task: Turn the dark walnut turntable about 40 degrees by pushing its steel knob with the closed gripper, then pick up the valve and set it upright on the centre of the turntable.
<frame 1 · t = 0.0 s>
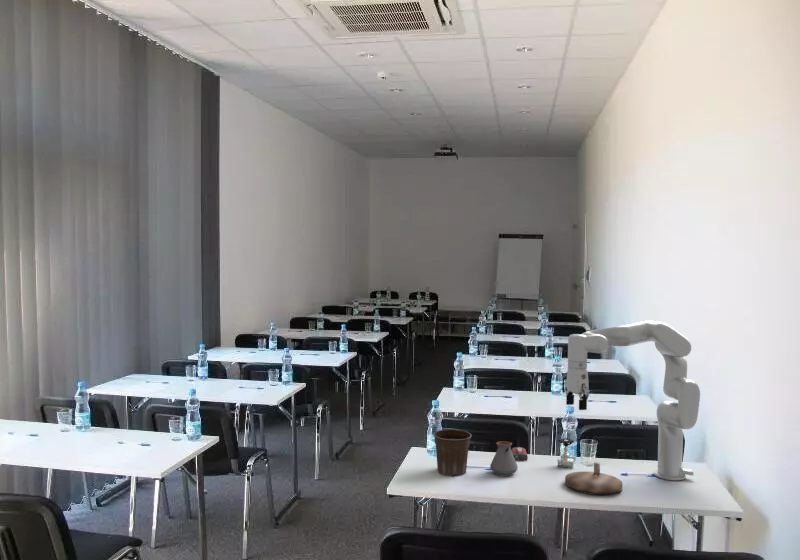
hand: (576, 407, 264), 31 cm above the table, tool pointing down, fingers open, 9 cm apart
plant pot: (451, 472, 278), on the table
turntable base: (593, 486, 262), on the table
turntable platter: (593, 476, 262), point 4 cm above the table, hinge at 0.0°
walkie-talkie: (517, 459, 298), on the table
valve: (565, 467, 287), on the table
coffee pot: (504, 477, 272), on the table
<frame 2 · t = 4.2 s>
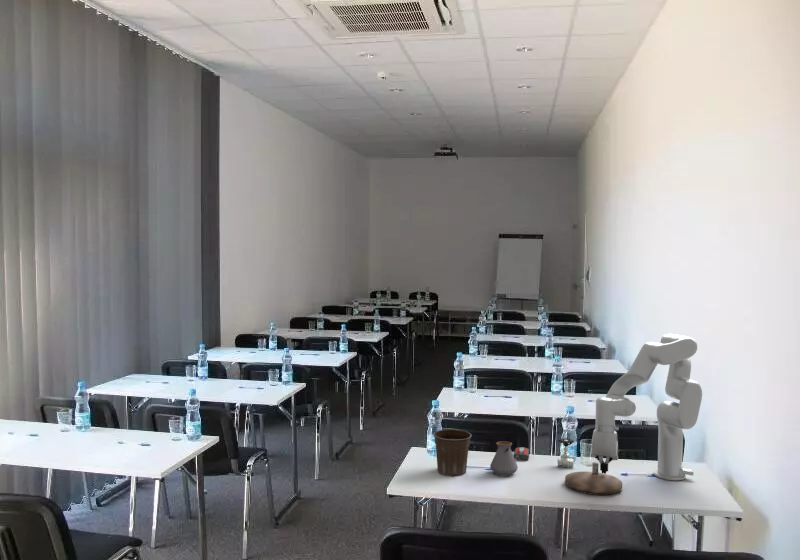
hand: (604, 472, 268), 4 cm above the table, tool pointing down, fingers closed
turntable platter: (593, 476, 262), point 4 cm above the table, hinge at 3.9°, touching gripper
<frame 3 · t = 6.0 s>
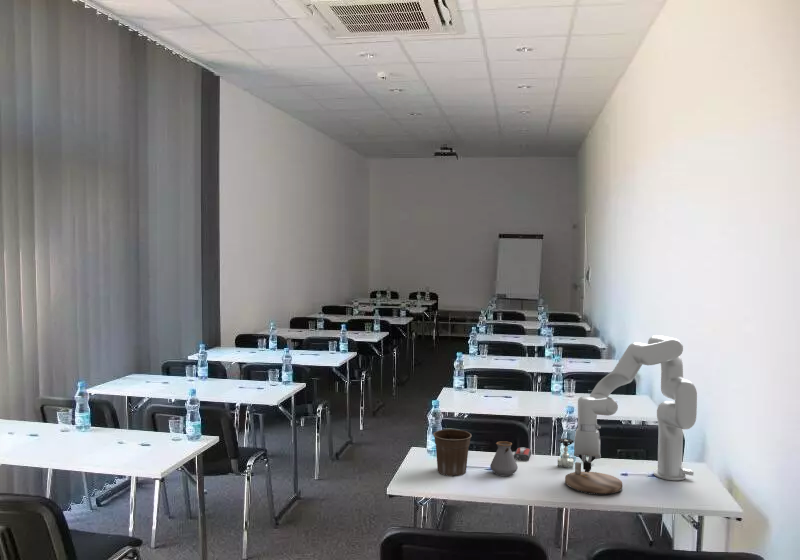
hand: (587, 471, 269), 4 cm above the table, tool pointing down, fingers closed
turntable platter: (593, 476, 262), point 4 cm above the table, hinge at 51.6°
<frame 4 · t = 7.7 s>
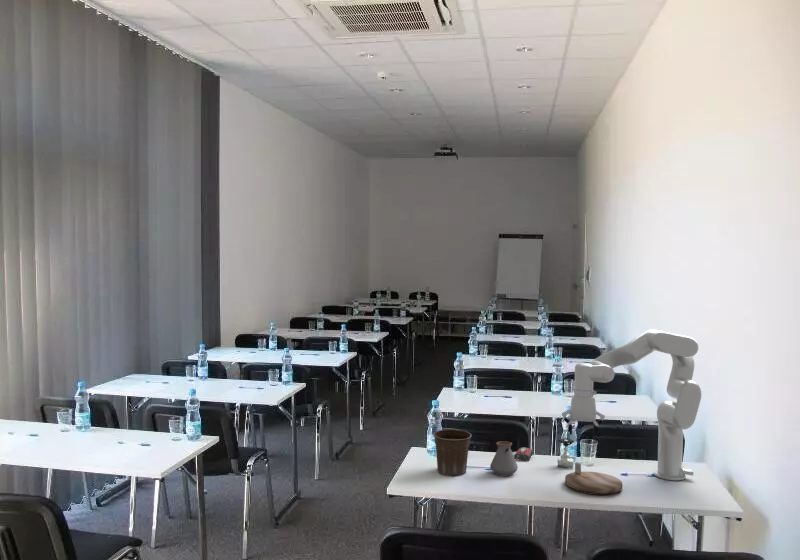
hand: (582, 434, 272), 18 cm above the table, tool pointing down, fingers open, 9 cm apart
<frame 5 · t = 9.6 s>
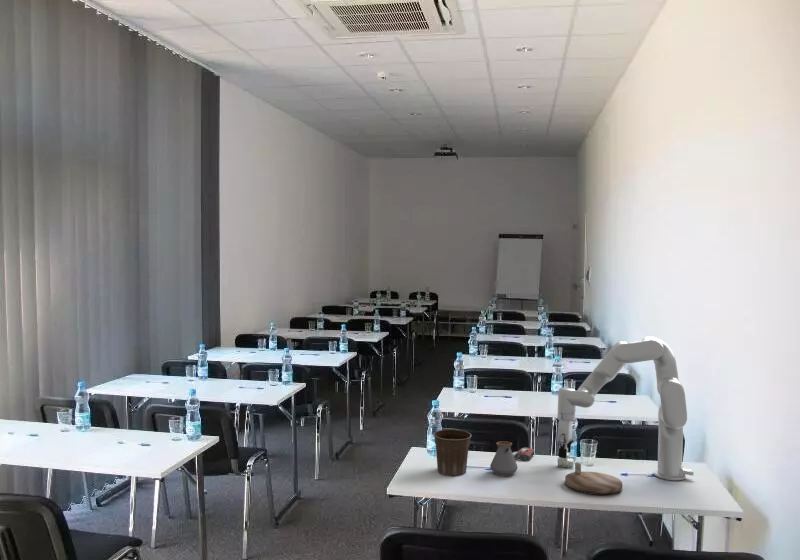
hand: (564, 454, 287), 5 cm above the table, tool pointing down, fingers open, 9 cm apart
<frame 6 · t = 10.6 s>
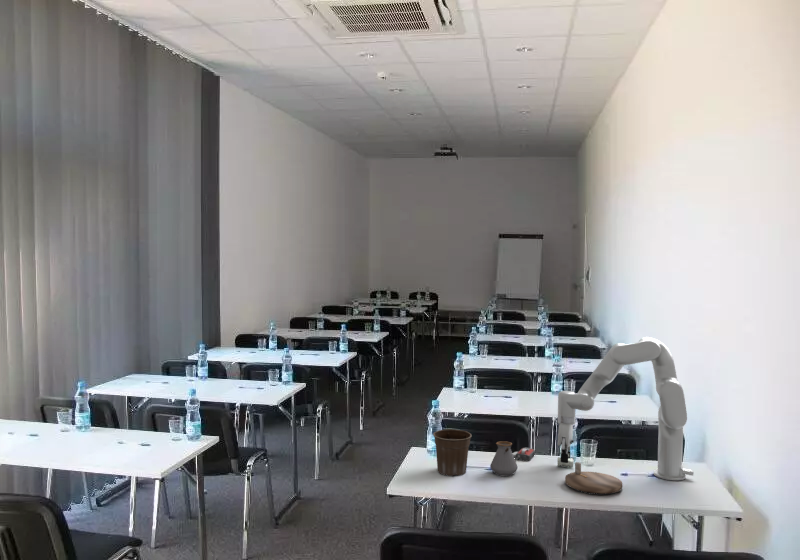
hand: (565, 460, 287), 3 cm above the table, tool pointing down, fingers closed on valve, 3 cm apart
valve: (565, 467, 287), on the table, touching gripper
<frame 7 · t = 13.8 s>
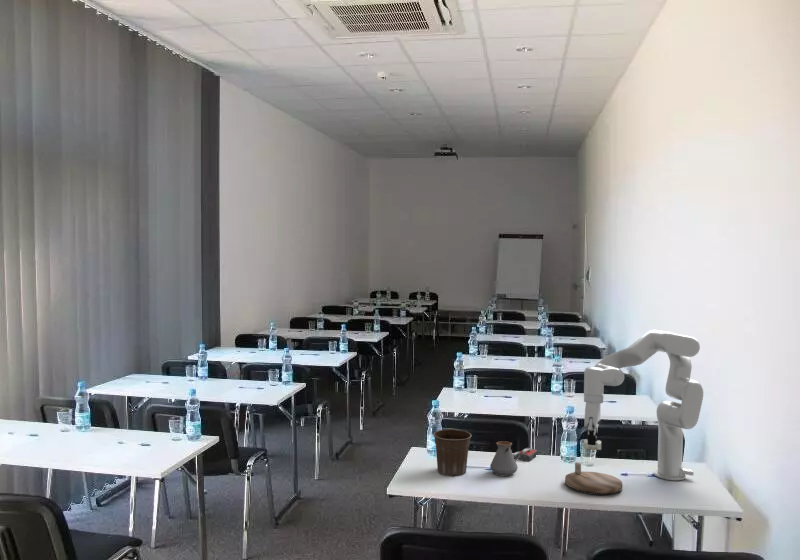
hand: (592, 443, 263), 17 cm above the table, tool pointing down, fingers closed on valve, 3 cm apart
valve: (592, 450, 263), point 14 cm above the table, touching gripper
when the fingers open (7 cm above the table, at t = 16.3 s): valve drops 1 cm, resting on turntable platter.
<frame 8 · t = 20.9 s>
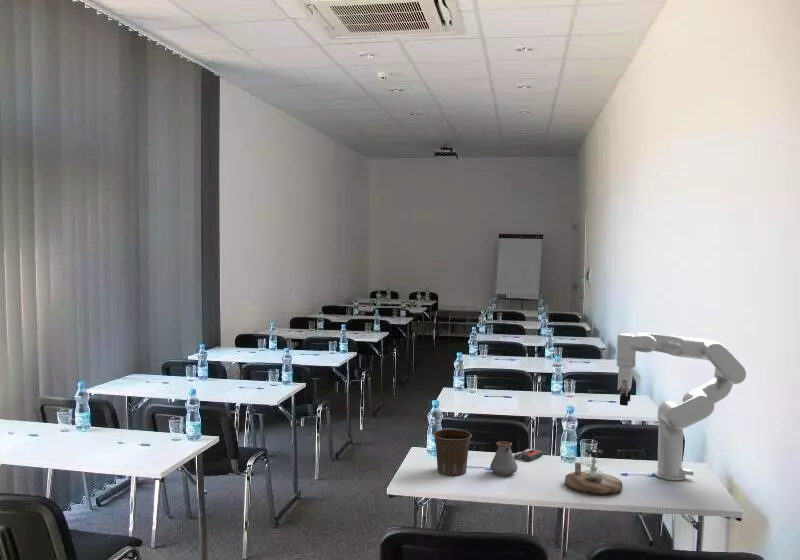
hand: (625, 403, 278), 30 cm above the table, tool pointing down, fingers open, 9 cm apart
turntable platter: (593, 476, 262), point 4 cm above the table, hinge at 51.6°, touching valve
valve: (593, 480, 262), point 2 cm above the table, touching turntable platter
at the end: turntable platter at +52° (first picture: +0°); valve 0.1 cm from the turntable platter (horizontally); valve tilted 0° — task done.
